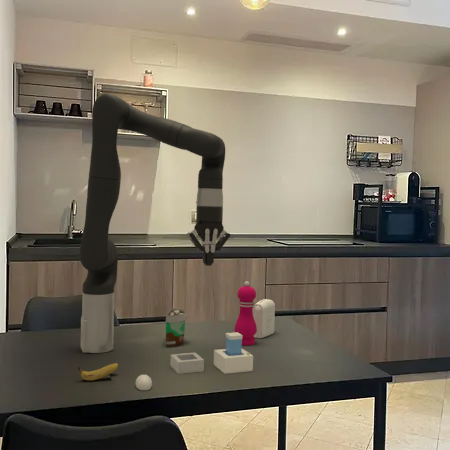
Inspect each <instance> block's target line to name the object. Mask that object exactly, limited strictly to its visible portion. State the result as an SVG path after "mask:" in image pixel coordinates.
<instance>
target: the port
mask: <svg viewBox="0 0 450 450" xmlns="http://www.w3.org/2000/svg"><path fill="white" fill-rule="evenodd" d="M213 366H215V367H216V368H217V369H218V370H219V371H221V373H223V374H224V375H226V374H236V373H246V372H253V371H254V355H253V354H251V352H249V351H246V350H245V349H243V348H242V352H241V355H234V356H228V355H227V354H226V348H222V349H221V348H220V349H214V350H213Z"/></svg>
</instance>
